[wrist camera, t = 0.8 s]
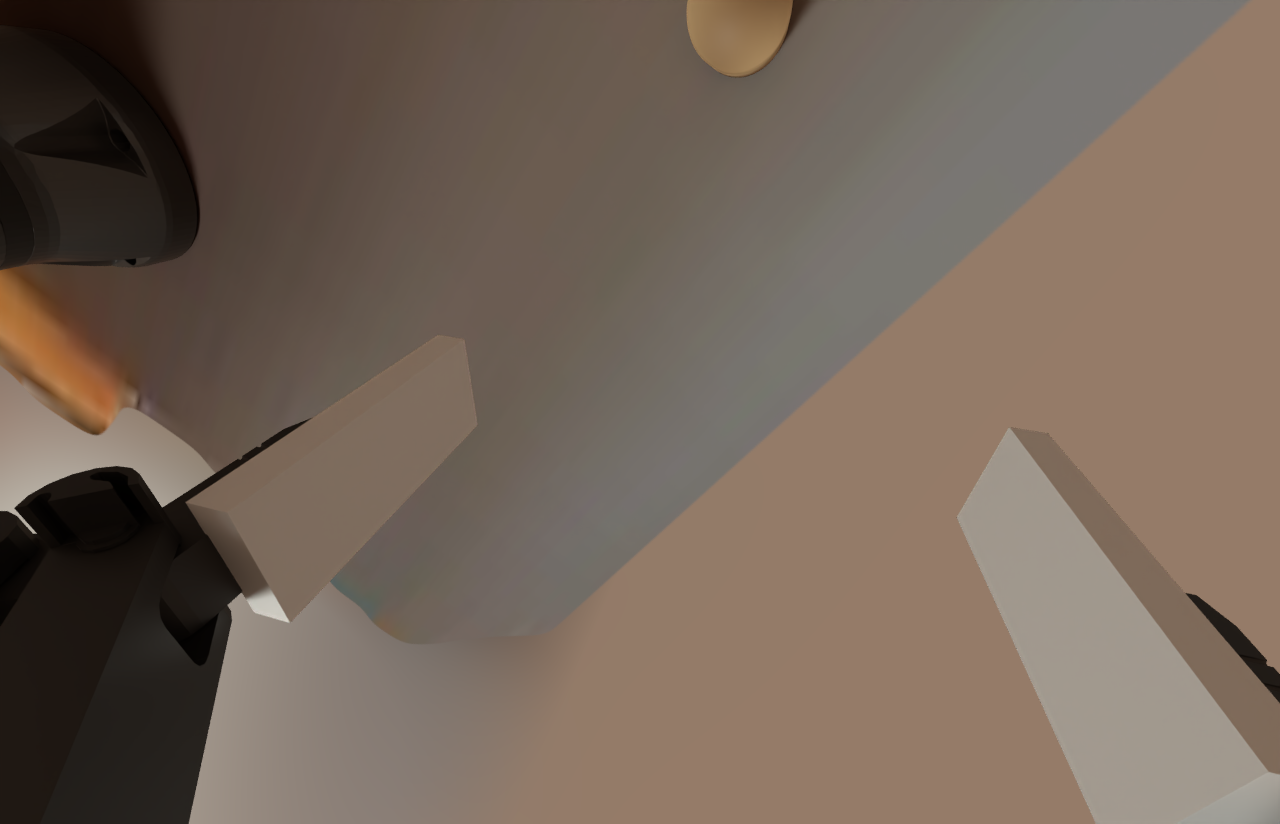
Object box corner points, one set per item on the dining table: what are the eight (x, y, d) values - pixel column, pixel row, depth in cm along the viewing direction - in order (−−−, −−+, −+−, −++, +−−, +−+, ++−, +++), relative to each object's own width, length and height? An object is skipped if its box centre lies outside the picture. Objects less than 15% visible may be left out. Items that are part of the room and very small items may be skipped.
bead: (680, 40, 24) (666, 29, 21) (736, -62, 22) (730, -92, 19) (748, 97, 25) (745, 94, 22) (809, 3, 23) (816, -15, 19)
